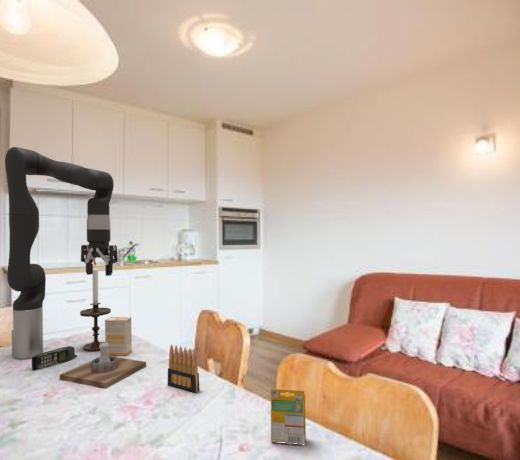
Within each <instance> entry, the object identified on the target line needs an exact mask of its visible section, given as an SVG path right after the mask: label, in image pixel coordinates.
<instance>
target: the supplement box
mask: <svg viewBox="0 0 520 460" xmlns="http://www.w3.org/2000/svg"><path fill="white" fill-rule="evenodd" d="M104 335H105V336H104V337H105V339H104V342H109V345H110V346H109V347H108V349H109V351H108V354H109V356H128V355H129V354H130V353H131V352H132V351H133V348H132V347H133V343H132V342H133V341H132V338H133V337H132V335H133V334H132V317H131V316H110V317H107V318H106V319H104Z"/></svg>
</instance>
